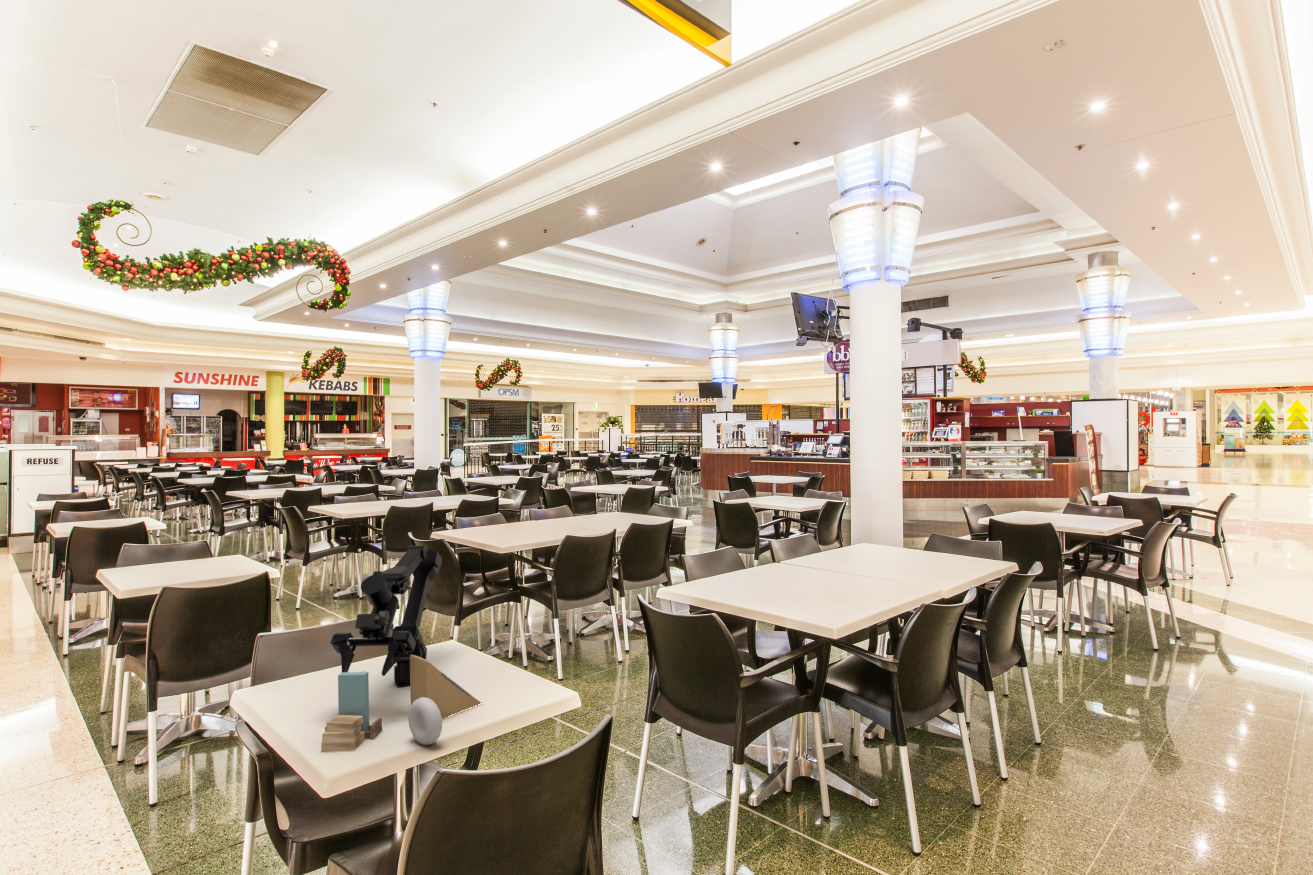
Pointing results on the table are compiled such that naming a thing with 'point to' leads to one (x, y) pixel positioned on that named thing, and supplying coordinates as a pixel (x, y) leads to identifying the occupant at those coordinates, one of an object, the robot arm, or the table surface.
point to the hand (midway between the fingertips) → (363, 675)
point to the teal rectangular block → (354, 696)
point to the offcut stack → (343, 734)
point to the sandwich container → (437, 688)
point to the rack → (373, 729)
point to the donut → (425, 721)
